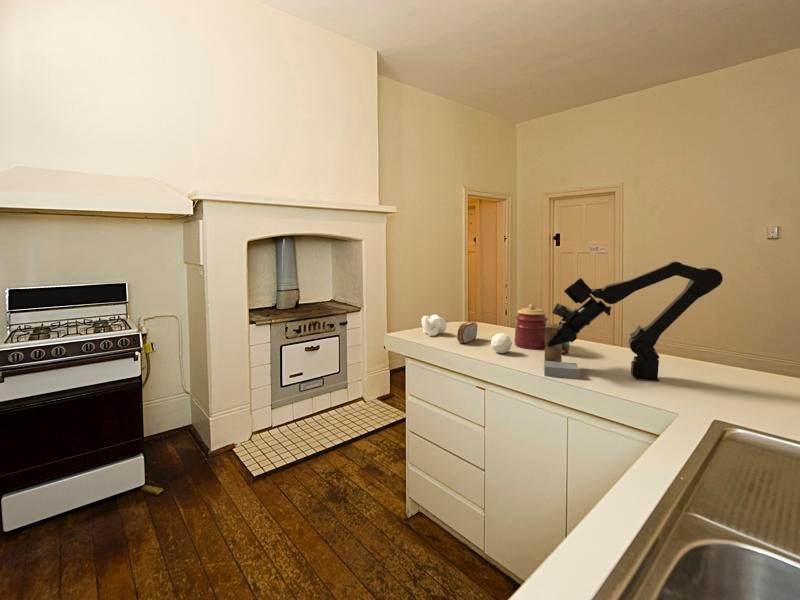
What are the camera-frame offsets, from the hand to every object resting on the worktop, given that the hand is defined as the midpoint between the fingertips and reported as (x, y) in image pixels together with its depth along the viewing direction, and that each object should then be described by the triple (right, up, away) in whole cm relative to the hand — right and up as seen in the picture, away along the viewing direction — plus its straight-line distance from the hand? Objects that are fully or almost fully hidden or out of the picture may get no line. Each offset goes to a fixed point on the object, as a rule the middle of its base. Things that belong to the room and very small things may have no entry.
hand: (549, 343), depth 139 cm
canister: (+3, -4, +30) cm, 30 cm away
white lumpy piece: (-35, -1, +52) cm, 63 cm away
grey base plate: (+1, -9, -7) cm, 12 cm away
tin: (-22, -3, +38) cm, 44 cm away
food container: (+13, -6, +20) cm, 24 cm away
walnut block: (+1, -7, 0) cm, 7 cm away
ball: (-12, -6, +19) cm, 23 cm away
